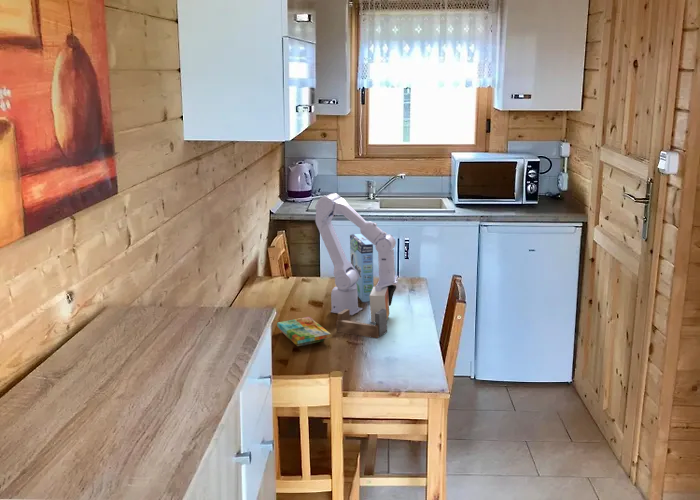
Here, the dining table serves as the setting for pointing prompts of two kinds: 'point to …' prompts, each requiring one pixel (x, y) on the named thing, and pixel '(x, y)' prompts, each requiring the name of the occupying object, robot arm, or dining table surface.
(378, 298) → the small box
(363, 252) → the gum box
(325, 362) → the dining table surface
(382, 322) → the bookend
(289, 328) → the puzzle game
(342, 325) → the walnut shelf corner
